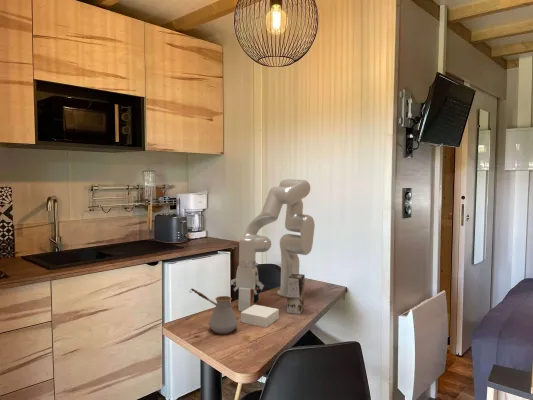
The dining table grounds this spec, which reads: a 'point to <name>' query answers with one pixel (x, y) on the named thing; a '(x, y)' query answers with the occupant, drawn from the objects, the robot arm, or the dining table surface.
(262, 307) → the cream white block
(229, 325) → the coffee pot
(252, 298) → the small box
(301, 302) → the coffee box
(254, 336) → the dining table surface
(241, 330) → the dining table surface
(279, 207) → the robot arm
